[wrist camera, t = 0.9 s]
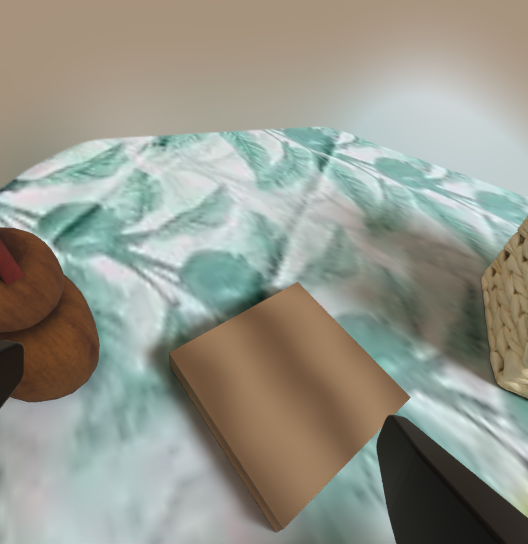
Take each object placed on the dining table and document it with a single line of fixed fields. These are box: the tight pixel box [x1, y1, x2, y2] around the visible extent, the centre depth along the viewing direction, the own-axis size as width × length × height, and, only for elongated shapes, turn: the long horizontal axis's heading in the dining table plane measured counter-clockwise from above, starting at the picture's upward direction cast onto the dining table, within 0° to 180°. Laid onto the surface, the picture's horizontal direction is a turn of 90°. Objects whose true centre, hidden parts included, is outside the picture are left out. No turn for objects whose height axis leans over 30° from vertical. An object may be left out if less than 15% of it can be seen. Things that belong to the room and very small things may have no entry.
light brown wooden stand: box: [169, 282, 411, 532], centre depth 24 cm, size 12×12×2 cm
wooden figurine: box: [0, 227, 100, 402], centre depth 17 cm, size 7×6×15 cm
